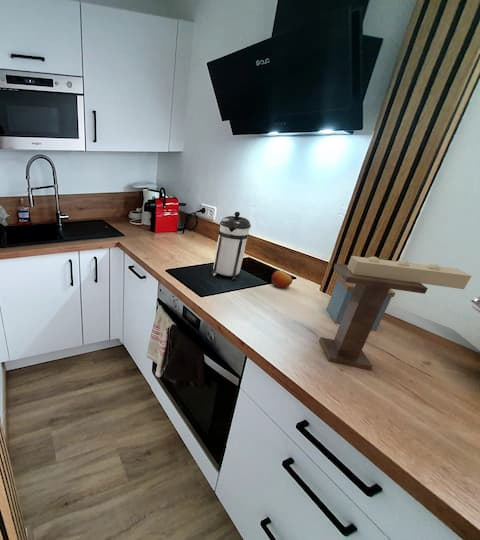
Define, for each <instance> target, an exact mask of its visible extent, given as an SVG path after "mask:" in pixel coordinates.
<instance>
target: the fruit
mask: <svg viewBox="0 0 480 540" xmlns="http://www.w3.org/2000/svg"><path fill="white" fill-rule="evenodd" d="M292 283H293V278H292V276H291V275H290V274H289V273H287V272H286V271H284V270H275V271H274V272H273V274H272V276H271V284H273V286H272V288H275V287H277V288H281V289H287V288H289V286H291V285H292Z"/></svg>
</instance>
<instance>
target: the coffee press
mask: <svg viewBox="0 0 480 540" xmlns="http://www.w3.org/2000/svg"><path fill="white" fill-rule="evenodd" d="M240 215H241V212H239V211H235V212H234V215H229V216H228V215H227V216H225V217H223V218H222V220H220V222H219V225H220V227H219V229H218V238H217V243H216V248H215V249H216V250H215V254H214V261H213V267H212V269H213V270H212V271H211V273H210V275H211V276H212V277H215V276H216V275H217V274H219V275H221V276H225V277H230V279H231V281H233V282H234V281H235V282H236V281H237V276H238V275H239V274H241V269H242V264H243V260H244V256H245V250H246V246H247V241H248V238H249V235H250V233H249V232H250V229H251V227H252V224H251V222H250V220H249V219H248V218H246V217H243V216H240Z"/></svg>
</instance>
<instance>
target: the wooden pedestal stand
mask: <svg viewBox="0 0 480 540" xmlns="http://www.w3.org/2000/svg"><path fill="white" fill-rule="evenodd" d="M347 267H348V264H343V263H334V265H333V270H334V271H335V272H336V273H337V275H338V274H339V275H340V276H341V277H342V279H343V280H344V281H345V282H348V283H355V284H356V286H355V288H354V291H353V293H352V296H351V298H350V301H349V303H348V306H347V308H346V311H345V313H344V316H343V318H342V321H341V323H340V324H339V326H338V328H337V331H336V333H335V336H334V339H332V338H327V337H322V336H320V337H319V340H318V342H319V344H320V346H321V348H322V350H323V353H324V355H325V357H326V359H327V361H328V362H331V363H335V364H339V365H344V366H348V367H353V368H357V369H362V370H367V371H371V370H372V368H373V365H372V363H371V362H370V360H369V358H368V357H367V356H366V354H365V352H364V351H363V349H364V347H365V344H366V342H367V341H368V340H367V339H368V337H369V335H370V334H371V331H372V330H371V329H372V327H373V324H374V322H375V320H376V318H377V316H378V313H379V311H380V309H381V307H382V305H383V303H384V300H385V298H386V296H387V294H388V292H389V289H391V290H397V291H404V292H409V293H417V294H422V295H425V294H426V293H427V291H428V289H429V288H428V287H426V286H425V284H422V283H415V282H407V281H400V280H393V279H386V278H378V277H371V276H364V275H357V274H353V273H352V272H351V271H350V270H349V269H348V268H347Z"/></svg>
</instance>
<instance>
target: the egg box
mask: <svg viewBox="0 0 480 540" xmlns="http://www.w3.org/2000/svg"><path fill="white" fill-rule="evenodd" d="M347 265H348V267H347V268H348V269H349V270H350V271H351V272H352V273H353V274H357V275H364V276H371V277H378V278H386V279H393V280H400V281H407V282H415V283H421V284H422V285H430V286H437V287H442V288H443V287H444V288H452V289H460V290H465V288H466V286H467V285H468V283H469V281H470V280H471V278H472V275H471V274H469V273H467V272H465V271H463V270H462V269H459V268H455V267H454V268H453V267H445V266H440V265H438V264H437V263H428V264H419V263H412V262H409V261H407V260H404V259H399V260H387V259H380V258H379V257H377V256H369V257H362V256H355V255H351V256H350V258H349V262H348V264H347Z"/></svg>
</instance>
